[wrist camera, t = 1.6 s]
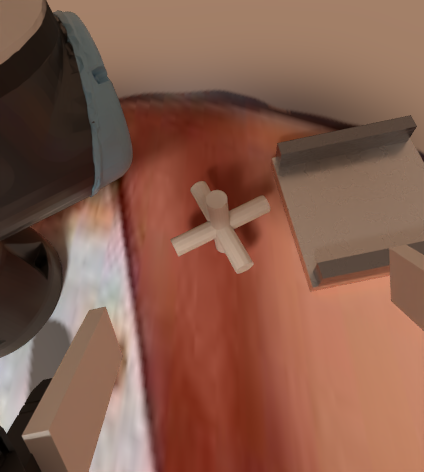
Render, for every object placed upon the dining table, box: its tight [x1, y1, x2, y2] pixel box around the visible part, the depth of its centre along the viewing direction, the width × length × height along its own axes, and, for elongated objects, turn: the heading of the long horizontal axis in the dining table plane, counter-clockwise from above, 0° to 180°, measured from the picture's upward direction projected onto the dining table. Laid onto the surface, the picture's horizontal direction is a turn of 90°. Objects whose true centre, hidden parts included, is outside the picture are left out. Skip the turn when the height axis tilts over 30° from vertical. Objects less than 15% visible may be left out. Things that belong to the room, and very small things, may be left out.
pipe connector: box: [171, 181, 270, 274], centre depth 34 cm, size 10×10×10 cm
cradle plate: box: [271, 115, 424, 292], centre depth 37 cm, size 16×16×4 cm
